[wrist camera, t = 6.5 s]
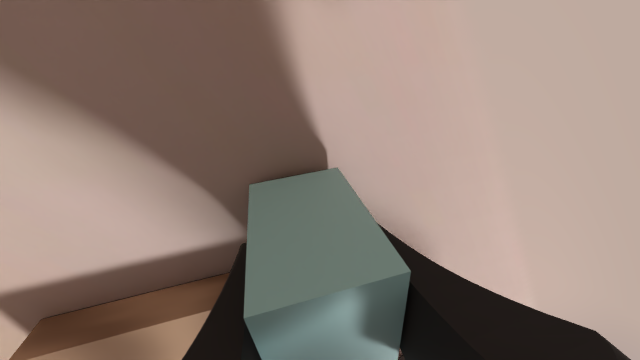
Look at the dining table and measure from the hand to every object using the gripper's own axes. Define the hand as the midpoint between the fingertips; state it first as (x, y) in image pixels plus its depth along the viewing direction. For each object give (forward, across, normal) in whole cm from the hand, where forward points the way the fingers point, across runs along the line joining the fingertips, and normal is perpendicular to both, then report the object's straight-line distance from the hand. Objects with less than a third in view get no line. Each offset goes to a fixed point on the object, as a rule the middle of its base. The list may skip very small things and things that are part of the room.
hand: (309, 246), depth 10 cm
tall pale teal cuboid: (+2, 0, +2) cm, 3 cm away
